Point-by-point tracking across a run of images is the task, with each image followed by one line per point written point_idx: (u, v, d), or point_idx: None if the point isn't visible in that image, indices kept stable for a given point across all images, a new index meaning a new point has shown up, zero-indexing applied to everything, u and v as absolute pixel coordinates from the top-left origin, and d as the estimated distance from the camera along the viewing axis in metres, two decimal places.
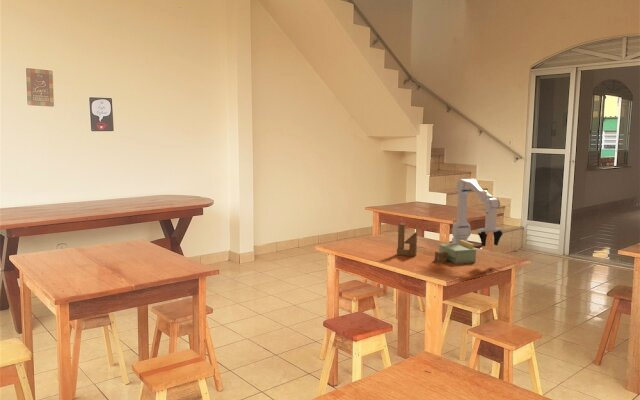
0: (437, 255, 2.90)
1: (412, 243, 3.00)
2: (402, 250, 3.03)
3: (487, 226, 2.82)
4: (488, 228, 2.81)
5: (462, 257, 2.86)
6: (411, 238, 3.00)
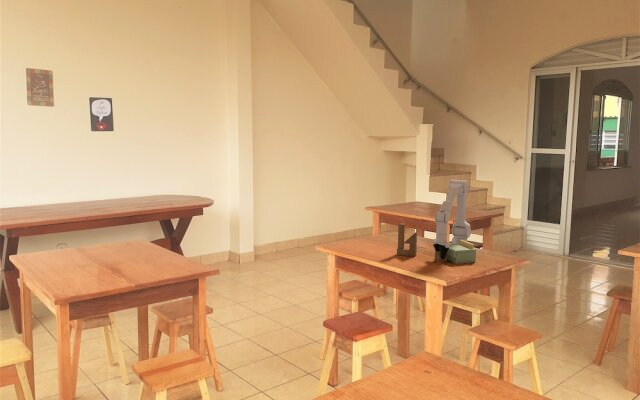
0: (437, 254, 2.90)
1: (412, 243, 3.00)
2: (402, 250, 3.03)
3: None
4: None
5: (462, 257, 2.86)
6: (411, 238, 3.00)
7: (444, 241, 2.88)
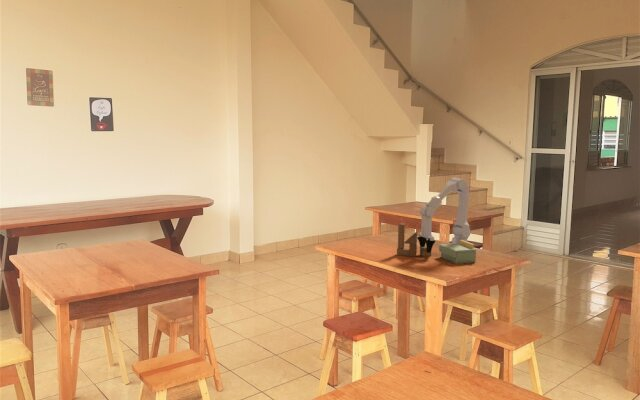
0: (422, 250, 3.01)
1: (412, 243, 3.00)
2: (402, 250, 3.03)
3: None
4: None
5: (462, 257, 2.86)
6: (411, 238, 3.00)
7: (429, 234, 2.99)
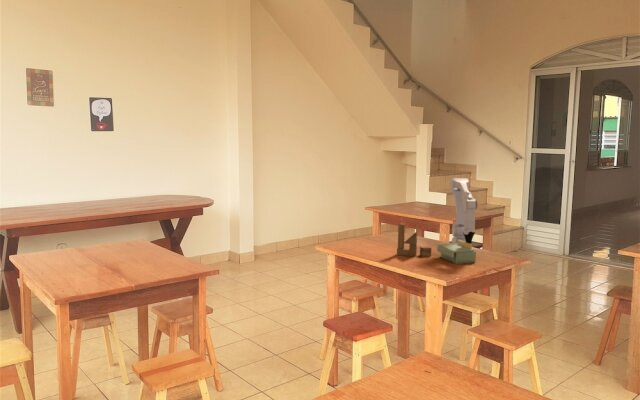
0: (422, 250, 3.01)
1: (412, 243, 3.00)
2: (402, 250, 3.03)
3: None
4: None
5: (462, 257, 2.86)
6: (411, 238, 3.00)
7: (468, 228, 2.92)
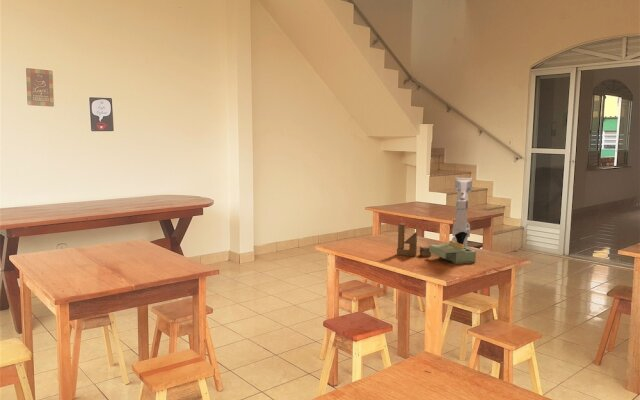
0: (422, 250, 3.01)
1: (412, 243, 3.00)
2: (402, 250, 3.03)
3: None
4: None
5: (462, 257, 2.86)
6: (411, 238, 3.00)
7: (458, 228, 2.91)
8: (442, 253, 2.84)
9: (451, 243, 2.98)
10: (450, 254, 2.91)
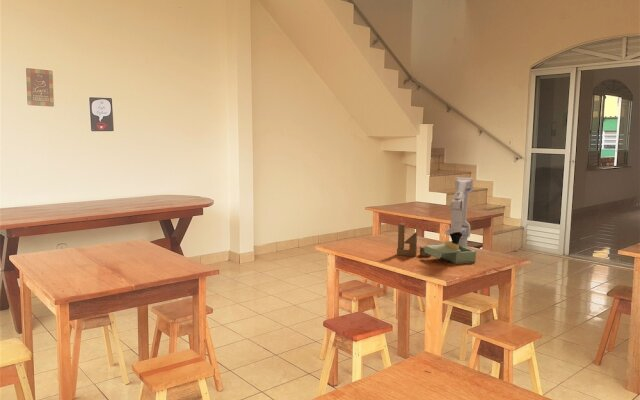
0: (422, 250, 3.01)
1: (412, 243, 3.00)
2: (402, 250, 3.03)
3: None
4: None
5: (462, 257, 2.86)
6: (411, 238, 3.00)
7: (453, 229, 2.90)
8: (437, 253, 2.83)
9: (446, 243, 2.97)
10: (450, 254, 2.91)
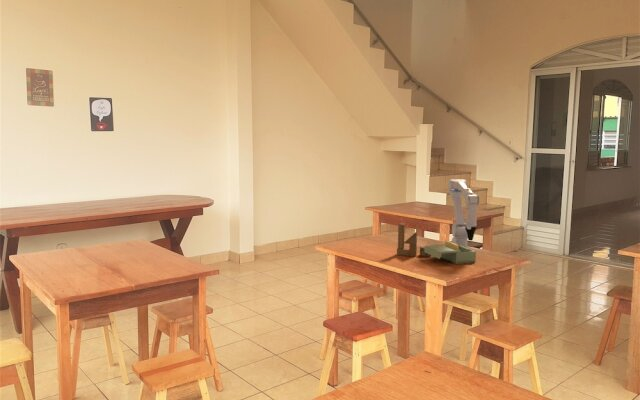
0: (422, 250, 3.01)
1: (412, 243, 3.00)
2: (402, 250, 3.03)
3: None
4: None
5: (462, 257, 2.86)
6: (411, 238, 3.00)
7: (470, 223, 2.93)
8: (437, 253, 2.83)
9: (446, 243, 2.97)
10: (450, 254, 2.91)
